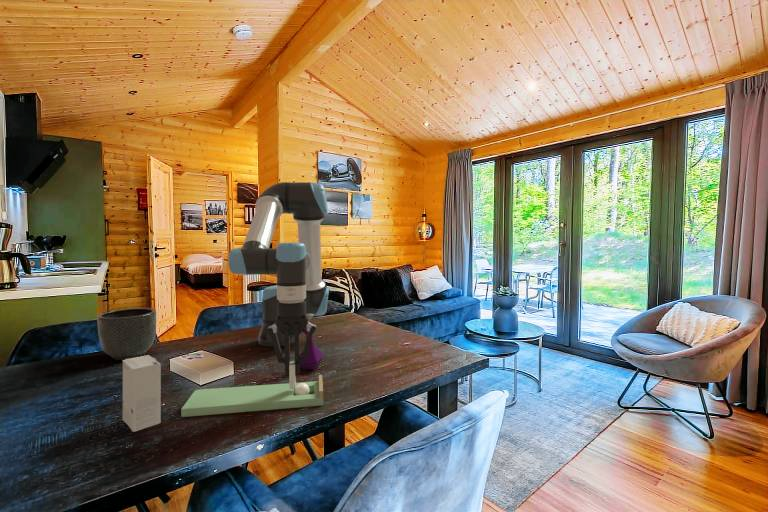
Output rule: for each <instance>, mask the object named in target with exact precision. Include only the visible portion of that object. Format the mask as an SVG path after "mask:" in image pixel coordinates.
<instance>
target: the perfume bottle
mask: <svg viewBox="0 0 768 512" xmlns="http://www.w3.org/2000/svg"><path fill="white" fill-rule="evenodd" d="M314 315H315V314H306V317H307V319H308V322H310V321H311V320H313V319H314V318H315V316H314ZM301 333H303V334H304V335H305V338H306V337H307V333H308V331H307V326H306V327H305V328H304V330H303V331H302V332H301ZM303 350H304V348H303V349H302V351H301V352H300V356H302V354H303ZM324 357H325V354H324V352H322V351H321V350H320V348H318V346H316V344H315V341H314V339H313V337H312V338H311V342H310V346H309V350H308V354H307V359H306V361H303V362H301V363H300V369H302V370H308V371H314V370H315V369H316V368H318V367H319V366H320V364H321V363H322V360H323V359H324Z"/></svg>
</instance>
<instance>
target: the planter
mask: <svg viewBox="0 0 768 512" xmlns="http://www.w3.org/2000/svg"><path fill="white" fill-rule="evenodd" d="M96 321H97V333H98V338H99V339H98V340H99V343H100V346H101V348H102V350H103V352H104V353H105V354H107V355H108V356H110V357H112V358H113V360H114V359H117V360H123V359H130V358H135V357H139V356H141V355H143V354H144V355H146V352H147V351H148V350H149V349H151V347H152V346H153V345H154V341H155V338H156V335H157V334H156V333H157V323H158V322H157V321H158V320H157V310H156V309H154V308H151V307H150V308H148V307H145V308H144V307H137V308H124V309H123V308H122V309H117V310H111V311H107V312H102V313H100V314H98V315H97V319H96ZM144 355H143V356H144ZM117 360H116V361H117Z"/></svg>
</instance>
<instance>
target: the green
mask: <svg viewBox="0 0 768 512" xmlns="http://www.w3.org/2000/svg"><path fill="white" fill-rule="evenodd" d="M323 381H324V379H323V374H318V380H317V381H316V380H315V381H303V382H296V386H297V385H298V384H300V383H305V384H307V385H308V386H309V388H310V392H309V394H306V395H295V389H290V386H289V382H287V383H275V384H273V383H271V384H262V385H261V384H259V385H246V386H244V385H243V386H233V387H232V386H231V387H219V388H218V387H217V388H203V389H195V390H194V391H193V392H192V393H191V395H190V396H189V398H188V399H187V401H186V402H185V404H183V406H182V407H181V409H180V415H181V416H180V417H181V418H187V417H198V416H208V415H209V416H210V415H211V416H212V415H222V414H233V413H246V412H259V411H260V412H261V411H271V410H279V409H280V410H281V409H282V410H283V409H293V408H294V409H295V408H307V407H319V406H324V385H323ZM295 388H296V387H295Z"/></svg>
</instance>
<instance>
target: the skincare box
mask: <svg viewBox="0 0 768 512" xmlns="http://www.w3.org/2000/svg"><path fill="white" fill-rule="evenodd" d="M121 362H122V421H123V422H124V423H125V424H126V425H127V426H128V427H129V429H130V430H131V432H133V433H134V432H138V431H141V430H144V429H147V428H150V427H153V426H156V425H159V424H161V423H162V421H161V415H162V413H161V411H162V410H161V408H162V407H161V405H162V403H161V398H162V397H161V395H162V394H161V391H162V390H161V384H162V381H161V379H162V378H161V377H162V376H161V375H162V370H161V368H162V366H161V365H162V364H161V362H159V361H158V360H157V359H156V358H155V357H152V356H151V355H149V354H147V355H146V354H144V355H143V356H140V357H135V358H130V359H125V360H122V361H121Z"/></svg>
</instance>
